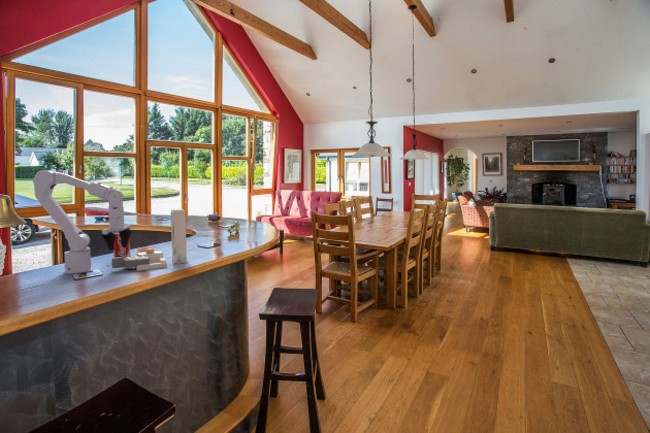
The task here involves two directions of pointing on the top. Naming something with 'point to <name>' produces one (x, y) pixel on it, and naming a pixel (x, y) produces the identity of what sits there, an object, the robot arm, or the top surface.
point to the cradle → (153, 261)
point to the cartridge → (130, 261)
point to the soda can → (121, 247)
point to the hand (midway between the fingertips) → (118, 248)
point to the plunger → (149, 250)
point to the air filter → (178, 236)
